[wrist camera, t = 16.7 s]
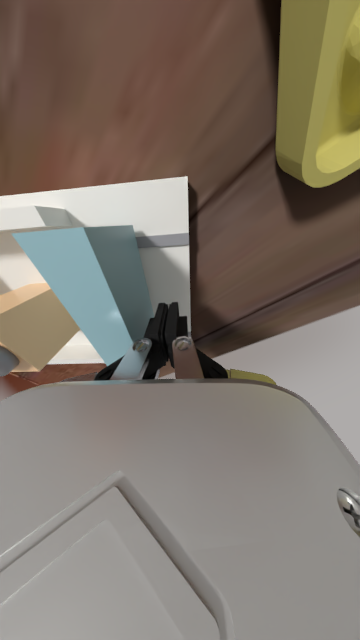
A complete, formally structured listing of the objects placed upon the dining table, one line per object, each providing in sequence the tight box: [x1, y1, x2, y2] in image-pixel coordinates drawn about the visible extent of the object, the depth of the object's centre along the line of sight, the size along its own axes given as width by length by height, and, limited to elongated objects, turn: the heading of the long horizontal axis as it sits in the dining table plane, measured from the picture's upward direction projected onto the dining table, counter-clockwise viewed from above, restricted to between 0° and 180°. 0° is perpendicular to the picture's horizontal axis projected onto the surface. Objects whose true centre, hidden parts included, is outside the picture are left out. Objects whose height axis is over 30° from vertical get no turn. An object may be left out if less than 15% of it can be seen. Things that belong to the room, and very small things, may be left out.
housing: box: [0, 176, 191, 364], centre depth 14 cm, size 22×18×4 cm
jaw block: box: [0, 283, 80, 376], centre depth 12 cm, size 4×5×8 cm
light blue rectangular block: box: [12, 225, 154, 366], centre depth 11 cm, size 3×13×6 cm, turn 4°
